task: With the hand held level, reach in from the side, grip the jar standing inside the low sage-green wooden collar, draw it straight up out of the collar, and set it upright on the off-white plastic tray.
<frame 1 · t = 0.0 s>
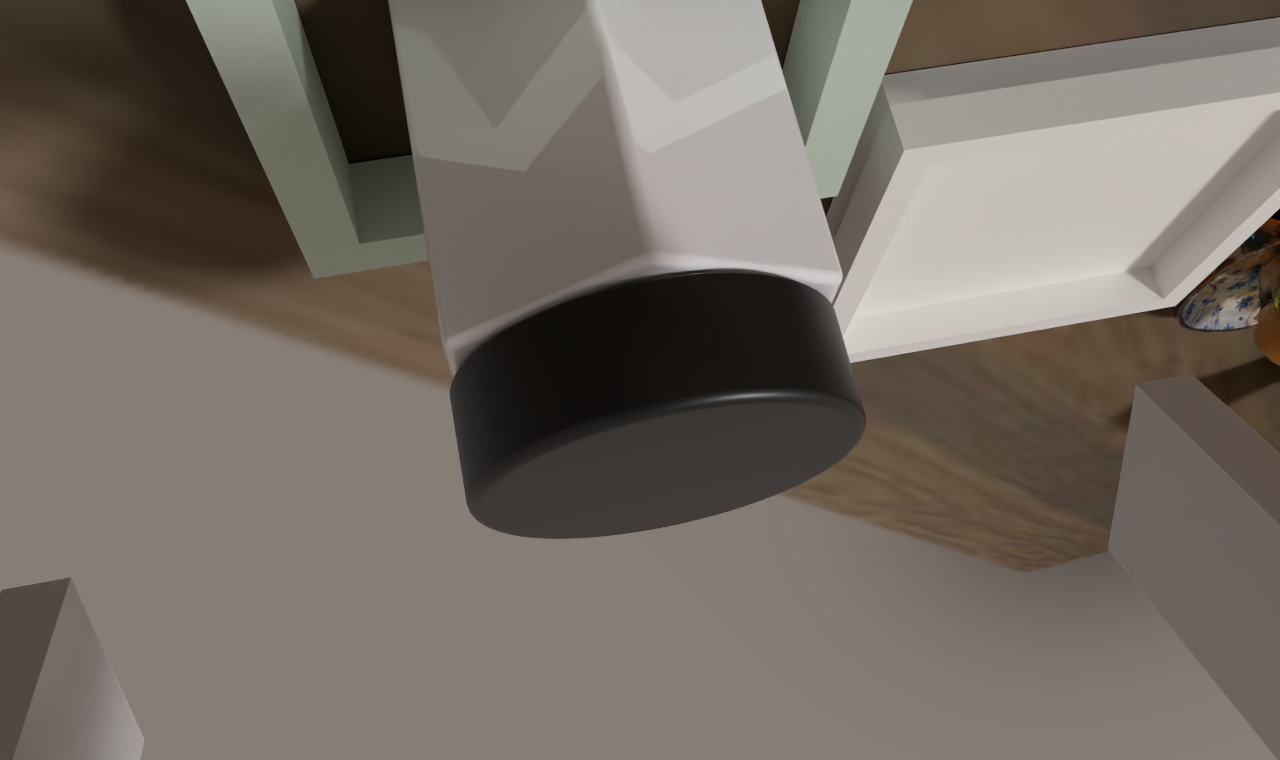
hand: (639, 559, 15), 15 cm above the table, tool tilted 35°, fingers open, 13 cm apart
tray: (1043, 182, 42), on the table
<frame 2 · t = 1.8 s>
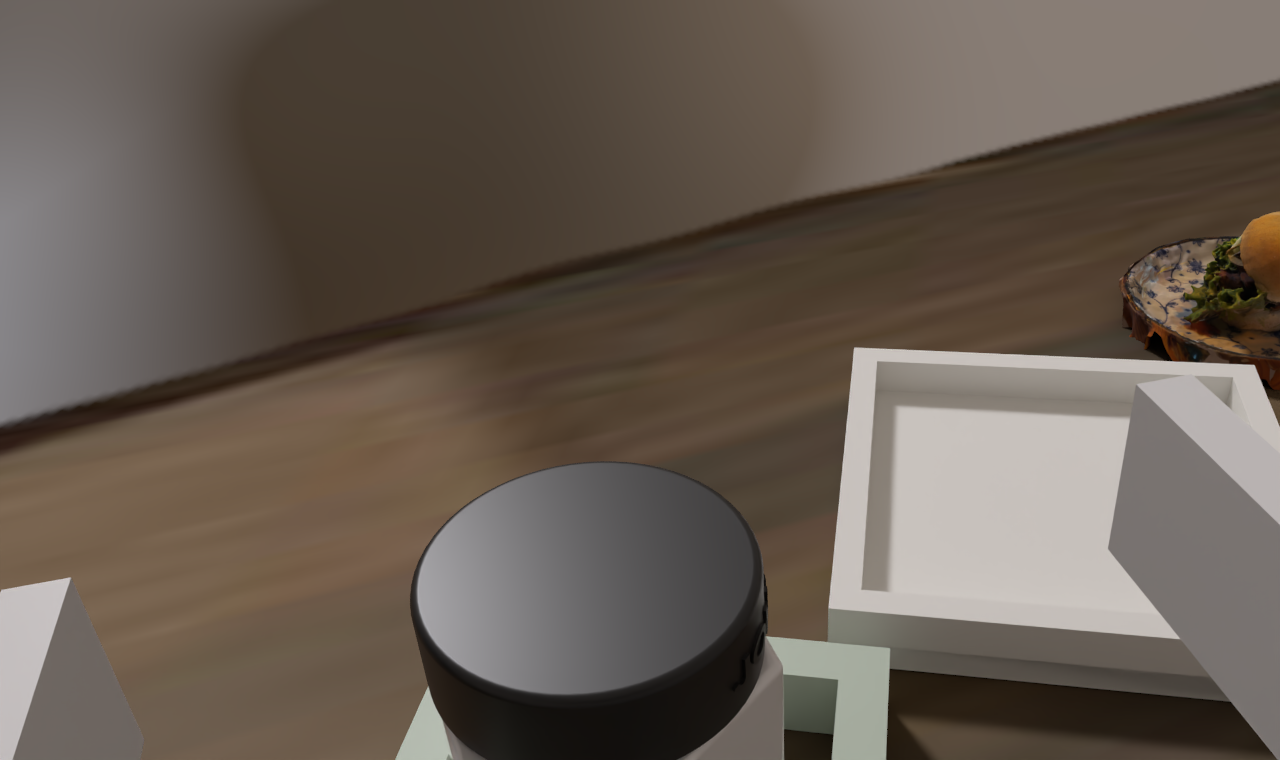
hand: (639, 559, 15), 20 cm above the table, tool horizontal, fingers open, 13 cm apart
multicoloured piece: (1249, 329, 56), on the table
tray: (1057, 525, 45), on the table
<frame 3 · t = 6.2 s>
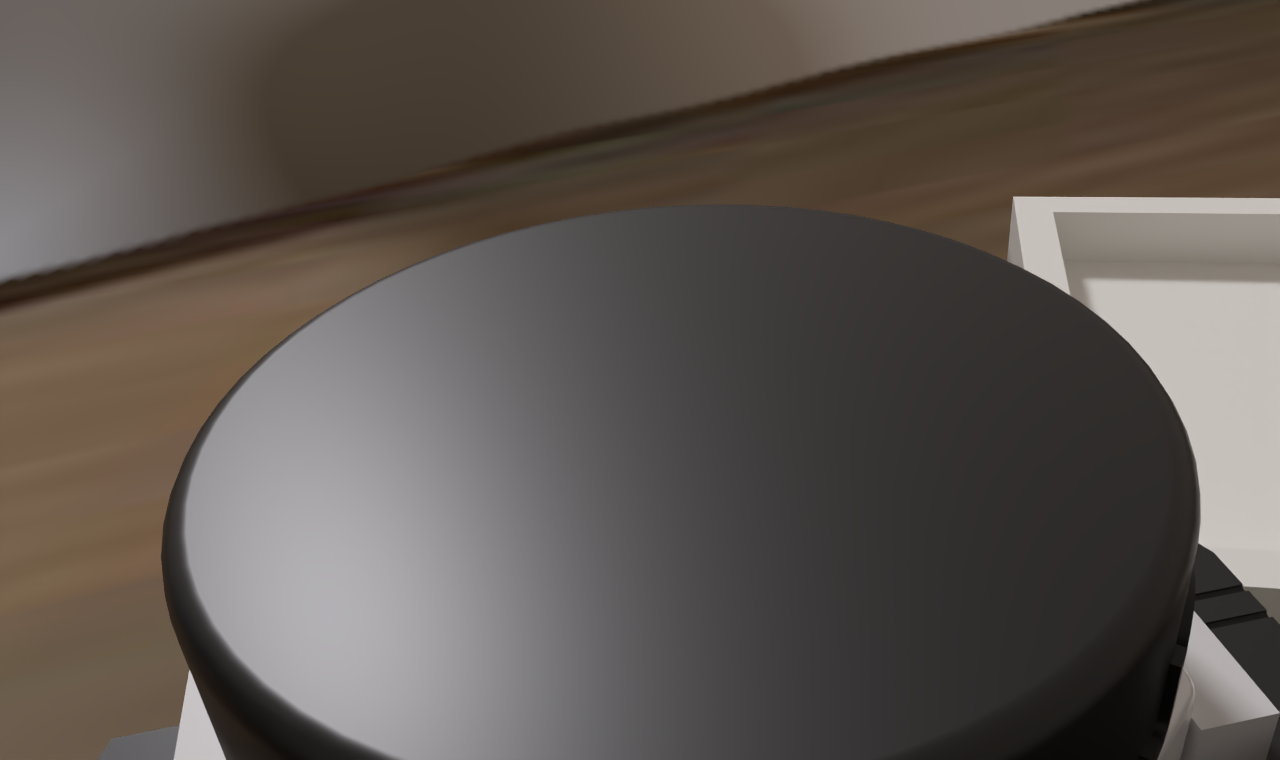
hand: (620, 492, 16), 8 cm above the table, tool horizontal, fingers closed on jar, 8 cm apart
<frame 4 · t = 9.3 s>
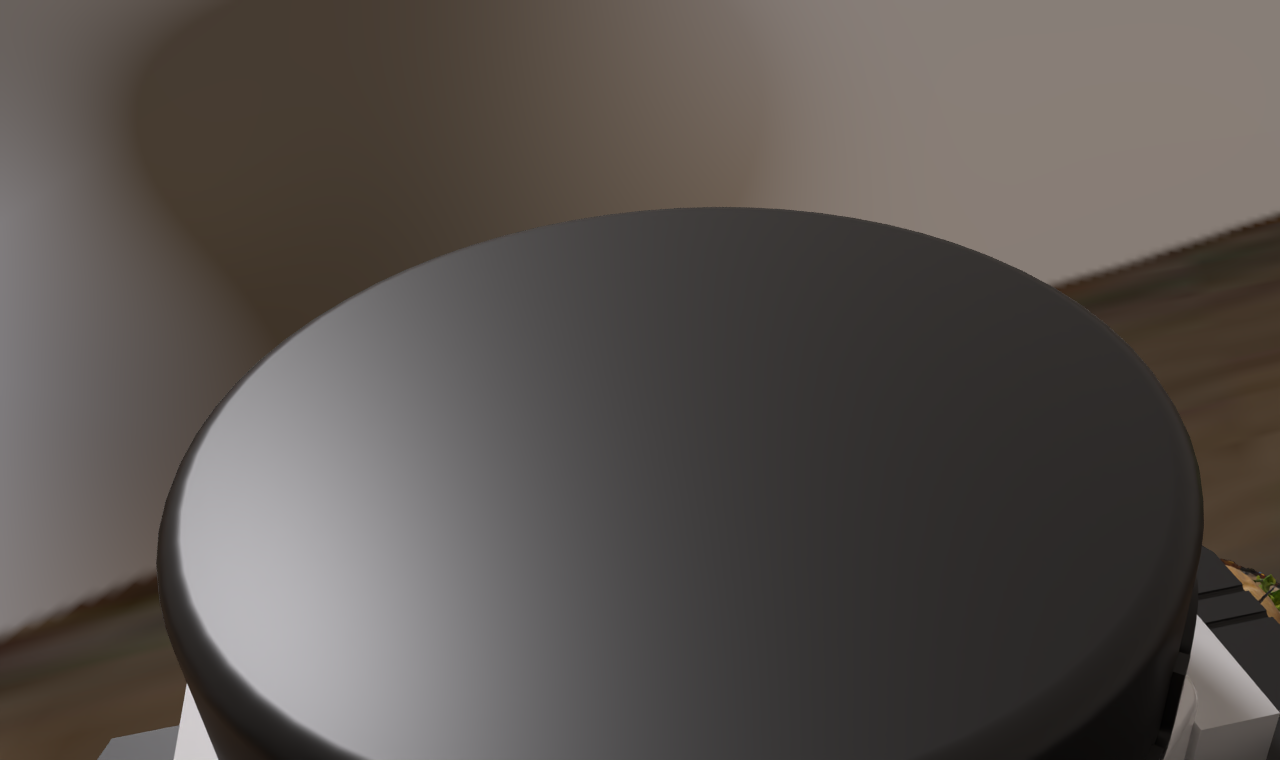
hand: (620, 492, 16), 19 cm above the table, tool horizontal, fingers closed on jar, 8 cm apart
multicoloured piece: (1158, 714, 37), on the table
when the fingers open (10 cm above the table, at t = 12.6 s): jar drops 1 cm, resting on tray.
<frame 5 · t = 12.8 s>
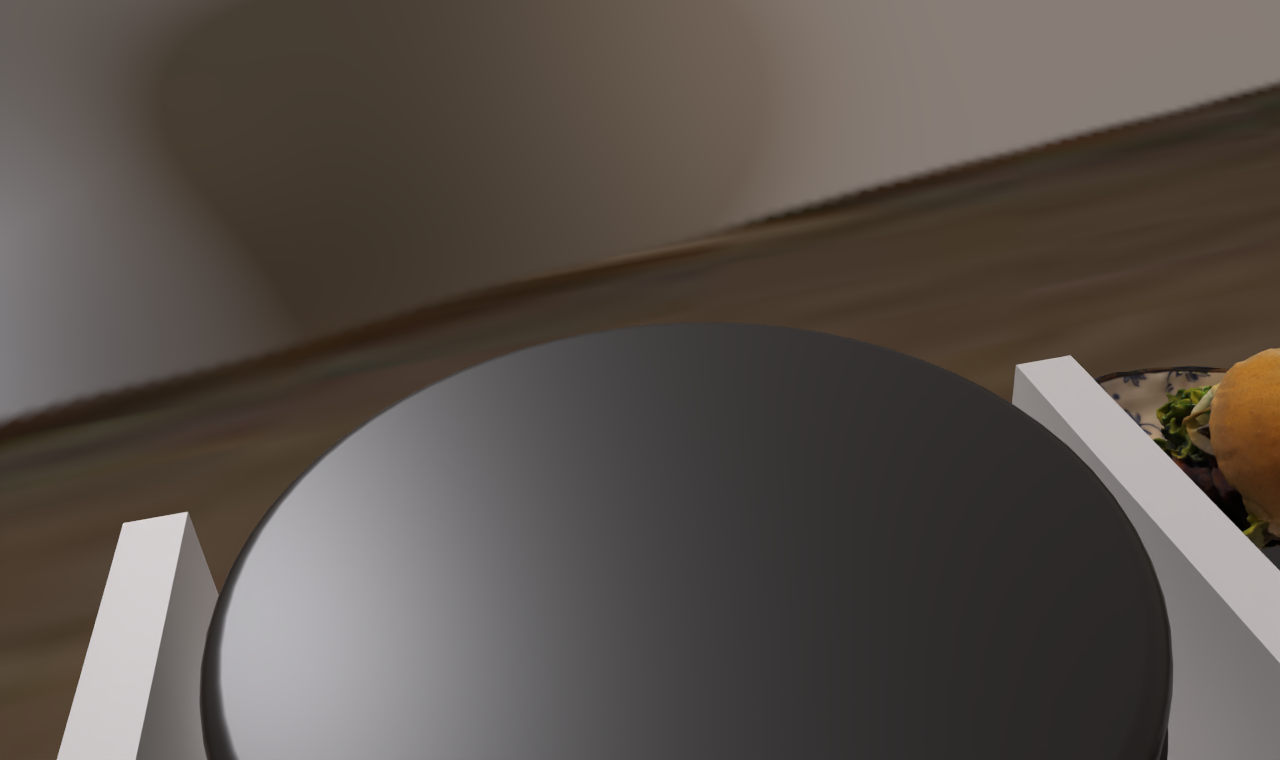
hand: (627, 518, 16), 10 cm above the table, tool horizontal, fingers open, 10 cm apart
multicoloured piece: (1233, 562, 29), on the table
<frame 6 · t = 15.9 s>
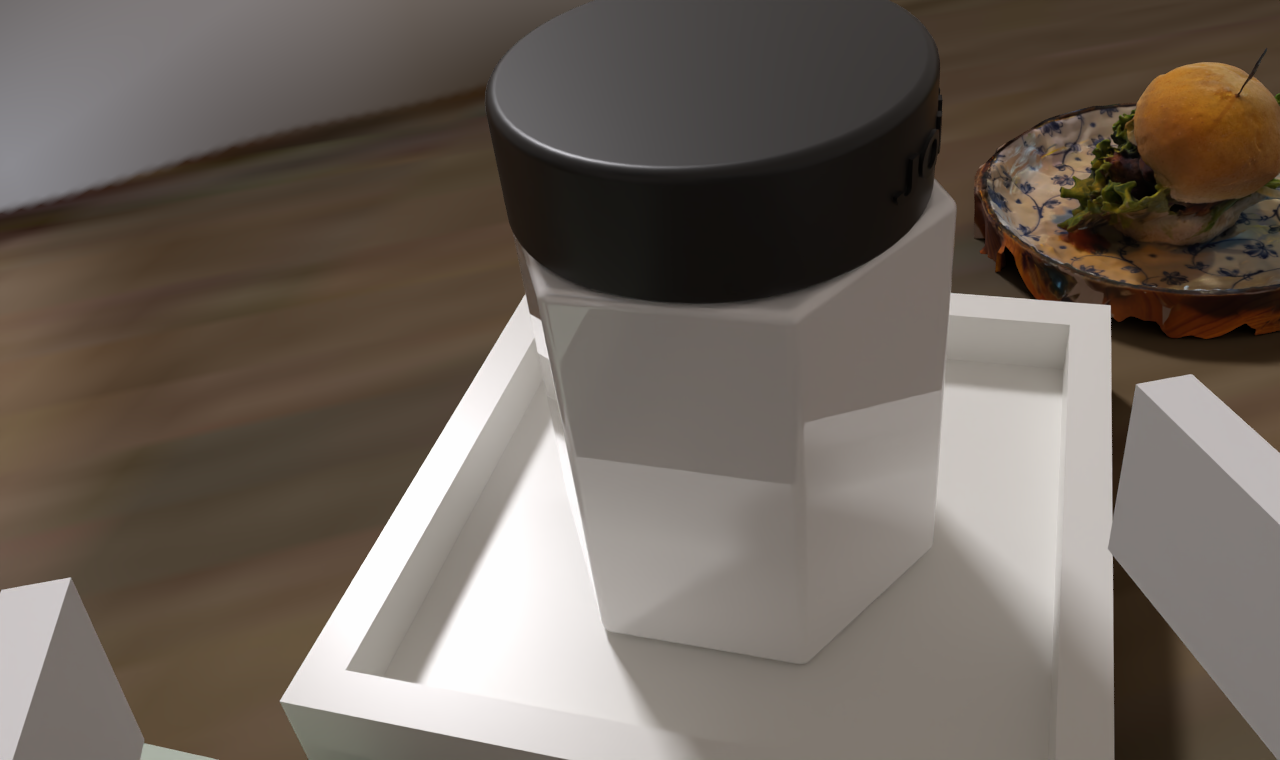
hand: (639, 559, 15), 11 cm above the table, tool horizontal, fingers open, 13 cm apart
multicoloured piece: (1162, 239, 39), on the table
tray: (752, 551, 29), on the table
jar: (743, 530, 29), point 1 cm above the table, touching tray
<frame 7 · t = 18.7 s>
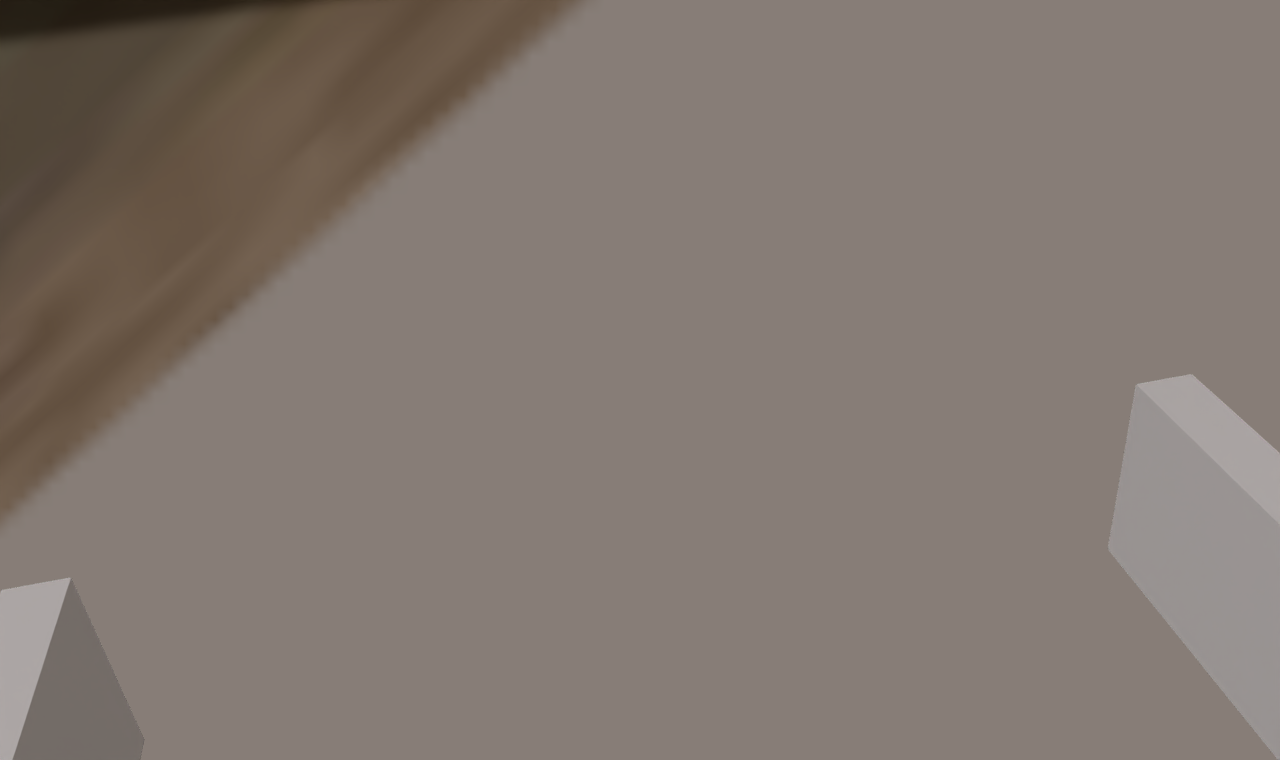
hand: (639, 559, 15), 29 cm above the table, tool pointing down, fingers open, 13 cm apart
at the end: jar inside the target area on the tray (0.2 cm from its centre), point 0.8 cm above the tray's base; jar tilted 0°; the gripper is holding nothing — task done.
